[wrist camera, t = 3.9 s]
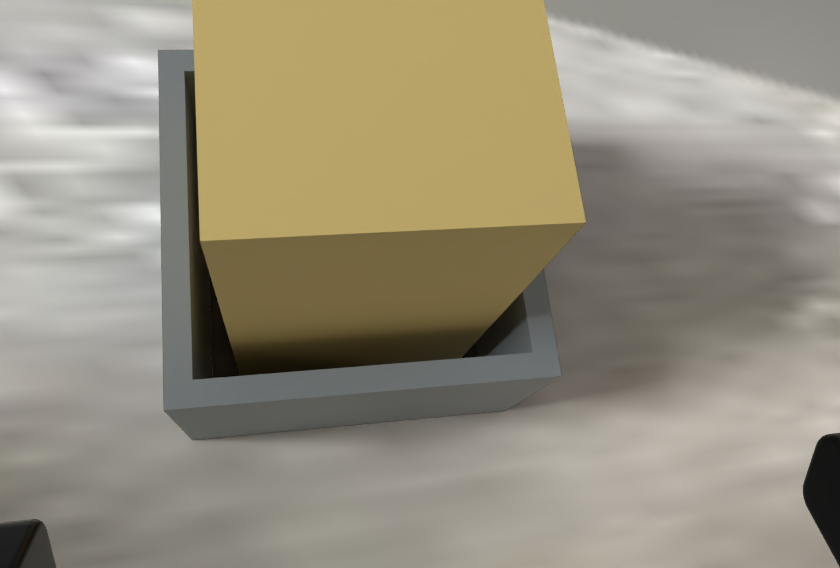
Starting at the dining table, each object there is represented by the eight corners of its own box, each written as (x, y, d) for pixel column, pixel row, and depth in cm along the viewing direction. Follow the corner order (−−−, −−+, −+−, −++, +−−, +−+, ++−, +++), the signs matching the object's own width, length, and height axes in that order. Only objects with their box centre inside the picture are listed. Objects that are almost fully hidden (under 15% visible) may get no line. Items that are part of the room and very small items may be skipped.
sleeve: (505, 410, 23) (561, 376, 18) (192, 440, 21) (163, 410, 16) (465, 140, 25) (505, 48, 20) (184, 148, 24) (158, 49, 19)
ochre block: (452, 367, 23) (586, 222, 12) (242, 385, 22) (200, 240, 11) (427, 181, 25) (527, -80, 14) (233, 189, 23) (189, -89, 13)
